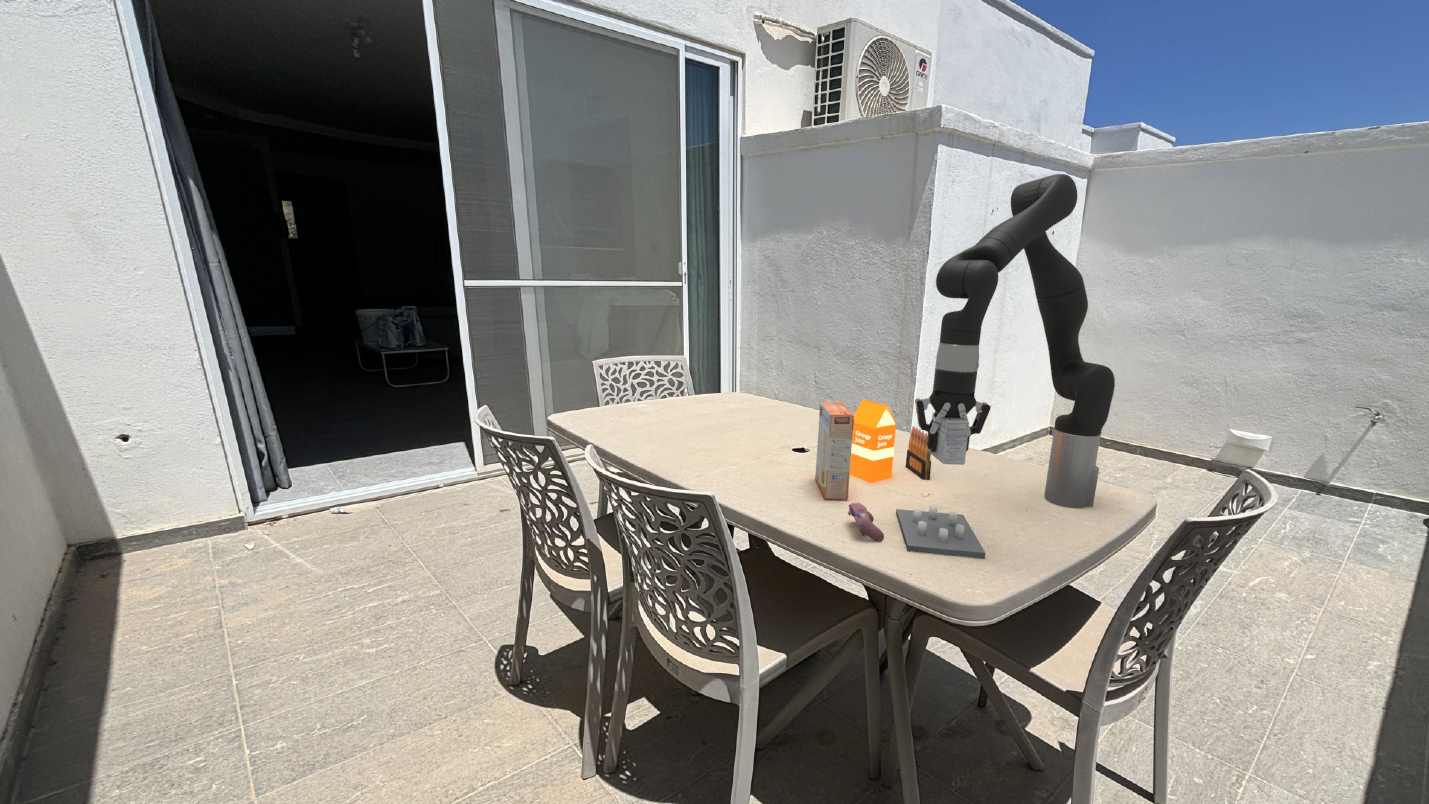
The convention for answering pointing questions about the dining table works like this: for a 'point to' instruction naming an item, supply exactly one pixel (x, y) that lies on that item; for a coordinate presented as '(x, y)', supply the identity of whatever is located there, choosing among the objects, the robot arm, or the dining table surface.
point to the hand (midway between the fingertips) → (946, 451)
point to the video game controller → (865, 521)
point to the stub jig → (938, 533)
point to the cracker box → (834, 450)
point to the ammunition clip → (918, 455)
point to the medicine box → (951, 441)
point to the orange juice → (872, 442)
